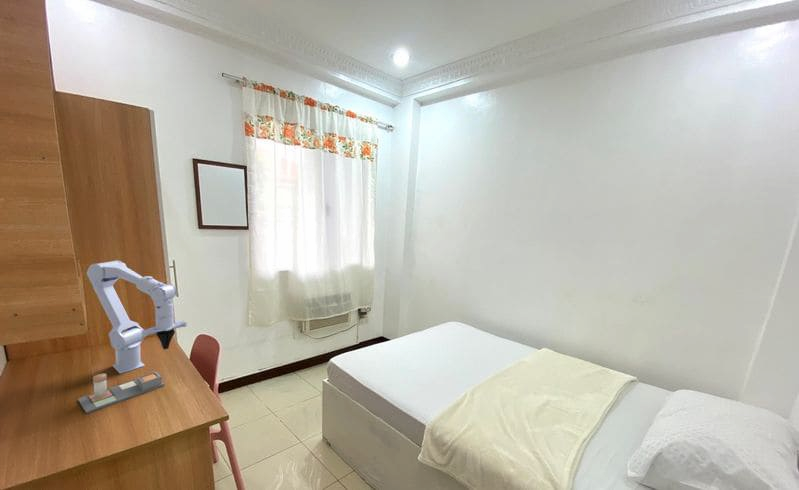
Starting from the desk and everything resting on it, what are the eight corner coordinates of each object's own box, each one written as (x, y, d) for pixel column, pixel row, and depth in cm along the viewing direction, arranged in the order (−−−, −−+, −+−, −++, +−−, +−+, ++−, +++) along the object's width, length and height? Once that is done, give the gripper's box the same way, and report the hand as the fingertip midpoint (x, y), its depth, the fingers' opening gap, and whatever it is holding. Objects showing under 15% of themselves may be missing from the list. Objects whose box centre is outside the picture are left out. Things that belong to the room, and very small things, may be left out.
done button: (141, 383, 116) (141, 377, 115) (153, 379, 119) (153, 373, 119) (145, 387, 114) (144, 381, 113) (157, 383, 117) (157, 377, 116)
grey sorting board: (77, 400, 106) (77, 390, 106) (153, 375, 123) (153, 366, 123) (86, 413, 100) (85, 403, 100) (164, 385, 117) (164, 376, 117)
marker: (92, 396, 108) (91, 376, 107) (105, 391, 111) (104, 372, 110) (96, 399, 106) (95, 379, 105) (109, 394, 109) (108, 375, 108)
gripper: (145, 322, 117) (147, 357, 118) (189, 313, 128) (190, 345, 130) (139, 318, 121) (140, 352, 122) (182, 309, 132) (182, 340, 134)
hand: (165, 348), depth 126 cm, fingers closed
